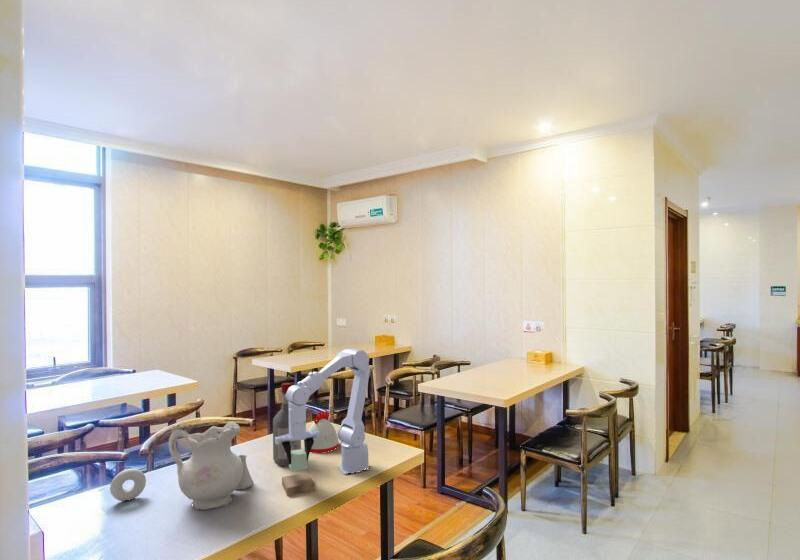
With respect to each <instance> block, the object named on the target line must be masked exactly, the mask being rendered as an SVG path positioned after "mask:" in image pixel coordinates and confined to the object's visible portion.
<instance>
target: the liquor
mask: <svg viewBox="0 0 800 560" xmlns="http://www.w3.org/2000/svg"><path fill="white" fill-rule="evenodd" d="M291 386H292V383H291V382H283V383H281V389H280V391H281V407H280V410H278V411H277V413H276V415H275V416H274V417H273V418H272V446H273V447H272V448H273V449H272V453H273V454H272V455H273V457H272V459H273V461H274V463H275V464H276V465H277V466H278V467H289V464H288V460H287V455H286V452H285V450H284V447H283V445H282V443H279V444H277V445H276V443H275V437H278V436H282V435H286V434H289V403H288V400H287V399H286V397H285V394H286V393H287V390H288V389H289V387H291ZM290 445H291V451H293V450H299V449H302V440H298V441H292V442H290Z"/></svg>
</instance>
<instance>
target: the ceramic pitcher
mask: <svg viewBox="0 0 800 560" xmlns="http://www.w3.org/2000/svg"><path fill="white" fill-rule="evenodd" d="M186 428H187V426H186V425H183V426H182V425H181V426H175V427H174V428H173V430H172V433H171V434H170V436H169V438H168V451H169V454H170V456H171V458H172V461H173V462H174V463H175V464H176V466H177V467H176V468H177V479H178V486H179V489H180V491H181V492H182V494H184V496H185V497H186V498H188V499H189V500H192V501H193V502H192V501H191V505H192V504H193V507H192V508H194V509H196V508H197V509H196V510H199V509H200V510H199V511H201V510H202V511H203V510H209V509H215V508H219V507H225V506H227V505H229V504H231V503H232V502H233V499H232V496H231V494H232V493H234V491H236V488H237V486H238V485H239V483H240V481H241V479H242V476H243V463H242V460H241V458H240V457H239V455H237V454H236V453H234V452H233V451H232V449H231V442H232V441H233V439H234V438H235V437H236V436H238V435H241V432H242V431H241V429H242V428H241V426H240V425H239V424H238V423H237V422H236V421H233V420H232V421H228V422H227V423H226V424H225V425H224V426H223V427H221V426H220V427H219V426H215V425H213V426H211V427H209V428H207V430H205V431H204V432H203V433H201V432H195V433H191V434H189V433H188V430H187V429H186ZM179 438H184V439H185V440H187V442H188V443H189V445H190V448H191V456H190V458H188V459H187V460H186V462H184V463H183V460H182V457H181V455H180V452H179V450H178V449H177V440H178V439H179Z"/></svg>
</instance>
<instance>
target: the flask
mask: <svg viewBox="0 0 800 560" xmlns="http://www.w3.org/2000/svg"><path fill="white" fill-rule="evenodd" d="M238 456H239V457H240V458H241V460H242V463H243V476H242V479H241V481H240V483H239V485H238V486H237V488H236V489H235V491H236V490H237V491H238V490H246V489H249V487H252V486H253V484H254V480H253V478H252V476H251V473H250V470H249V468H248V464H247V454H239V455H238Z"/></svg>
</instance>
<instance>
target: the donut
mask: <svg viewBox="0 0 800 560" xmlns="http://www.w3.org/2000/svg"><path fill="white" fill-rule="evenodd" d="M127 481H132V482H133V483H134V484H133V486H132V487H131V488H129V489H125V488H123V487H124V486H123V485H124V483H125V482H127ZM146 483H147V478H146V475H145V473H144V472H143V471H141V470H140V469H137V468H128V469H124V470H121V471H120V472H119V473H117V474H116V475H115V476H114V477H113V478H112V481H111V483H110V486H109V487H110V488H109V491H110V494H111V496H112V497H113V498H114V499H115V500H117V501H120V502H125V501H124V500H129V499H132V500H134V499H136V498H137V497H139V496H140V495H141V494H142V493H143V492H144V489H145V487H146ZM135 497H136V498H135ZM133 498H134V499H133ZM129 501H130V500H129Z"/></svg>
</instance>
